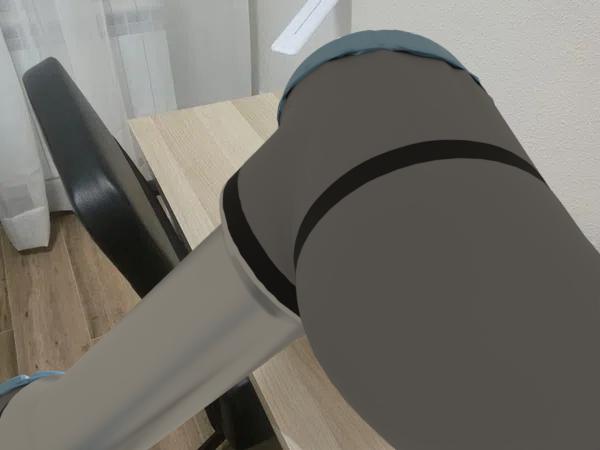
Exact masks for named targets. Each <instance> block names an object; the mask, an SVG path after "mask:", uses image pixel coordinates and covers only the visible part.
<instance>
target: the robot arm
mask: <svg viewBox="0 0 600 450" xmlns="http://www.w3.org/2000/svg"><path fill="white" fill-rule="evenodd" d="M479 78H480V77H478V76H476V75H475V74H474V73H472V72H470V71H469V70H468V69H467V68H466V67H465V65H464V64H463V63H462V62H461V61H460V60H459V59H458V58H457V57H456V56H455V55H453V53H452V52H450V51H449V50H448V49H447V48H445V47H444V46H442V45H441V44H439V43H438V42H436V41H434V40H433V39H430V38H428V37H425V36H424V35H421V34H417V33H414V32H411V31H406V30H400V29H377V30H374V29H373V30H372V29H365V30H359V31H355V32H352V33H349V34H345V35H342V36H340V37H337V38H335V39H333V40H331V41H328V42H327V43H325V44H323V45H322V46H320V47H319V48H317V49H316V50H314V51H313V52H312V53H311V54H310V55H308V56H307V57H306V58H305V59H303V61H302V62H301V63H300V64H299V65H298V66H297V67H296V69H295V70H294V71H293V73H292V74H291V76H290V78H289V79H288V81H287V84H286V85H285V87H284V90H283V93H282V96H281V98H280V100H279V102H278V106H277V112H276V121H277V129H276V130H275V131H274V132H273V133H272V134H271V136H269V137H268V138H267V139H266V141H264V143H262V144H261V146H259V148H258V149H257V150H256V151H255V152H254V153H252V155H250V157H248V159H246V160H245V162H244V163H243V164H242V165H241V166H240V167H239V168H238V169H237V170H236V171H235V172H234V173H233V174H232V175H231V176H230V177H229V178H228V180H226V182H225V183H224V184H223V186H222V188H221V190H220V194H219V201H218V202H219V203H218V204H219V205H218V206H219V208H218V209H219V216H220V223H219V224H218V225H217V226H216V227H215V228H214V229H213V230H212V231H211V232H210V233H209V234H208V235H207V236H206V237H205V238H203V239H202V241H200V242H199V243H198V245H196V246H195V247H194V248H193V249H192V250H191V251H190V252H189V253H188V254H187V255H186V256H185V257H184V258H183V259H182V260H181V261H180V262H179V263H178V264H176V266H175V267H174V268H172V269H171V270H170V271H169V272H168V274H167V275H165V276H164V277H163V278H162V279H161V280H160V281H159V282H158V283H157V284H156V285H155V286H154V287H153V288H152V289H151V290H150V291H149V292H148V293H146V295H144V296H143V297H142V298H141V299H140V301H138V303H136V304H135V305H134V306H133V307H132V308H130V310H129V311H128V312H127V313H126V314H125V315H124V316H123V317H122V318H120V320H119V321H117V323H116V324H114V326H113V327H112V328H110V329H109V330H108V331H107V332H106V333H105V334H104V335H103V336H102V337H101V338H100V339H99V340H98V341H97V342H95V344H93V346H91V348H90V349H89V350H87V351H86V353H84V354H83V355H82V356H81V357H80V358H79V359H78V360H77V361H76V362H75V363H74V364H73V365H72V366H71V367H70V368H69V369H68V370H66V371H59V370H41V371H35V372H33V374H32V375H31V376H28V375H27V374H20V375H17V376H14V377H12V378H9V379H8V380H6V381H4V382H2V383H1V384H0V450H150V449H151V448H152V447H153V446H155V445H156V444H157V443H159V442H160V441H161V440H163V439H164V438H166V437H167V436H168V435H169V434H171V433H173V431H175V430H176V429H178V428H179V427H181V426H182V425H183V424H185V423H186V422H188V421H189V420H190V419H191V418H193V417H194V416H196V415H197V414H198V413H199V412H201V411H202V410H204V409H205V408H206V407H208V406H209V405H210V404H212V403H214V402H215V401H216V400H217V399H218V398H220V397H221V396H223V395H224V394H225V393H227V392H228V391H230V390H231V389H232V388H234V387H235V386H237V384H239V383H240V382H242V381H243V380H245V379H246V378H247V377H248V376H250V375H251V374H252V373H254V372H255V371H257V370H258V369H260V368H261V367H262V366H263V365H265V364H266V363H268V362H269V361H271V360H272V359H273V358H274V357H276V356H277V355H278V354H279V353H281V352H283V351H284V350H286V348H288V347H289V346H290V345H292V344H293V343H295V342H296V341H297V340H298V339H299V340H300V338H302V337H303V336H304V335H305V336H306V339H307V342H308V344H309V346H310V348H311V350H312V353H313V355H314V357H315V359H316V361H317V363H318V364H319V365H320V367H321V369H322V370H323V372H324V374H325V375H326V377H327V379H328V380H329V381H330V383H331V384H332V385H333V387H334V389H336V391H337V392H338V393H339V394H340V396H341V397H342V398H343V399H344V401H345V403H347V404H348V405H349V406H350V407H351V408H352V409H353V411H354V412H355V413H356V414H357V415H358V416H359V417H360V418H361V419H362V420H363V422H365V423H366V424H367V426H369V427H370V428H371V429H373V431H374V432H375V433H376V434H378V435H379V436H380V437H381V438H382V439H383V440H384V441H385V442H386V443H387V444H388V445H389V446H390V447H392V448H393V449H394V450H600V252H599V250H598V249H597V248H596V247H595V246H594V245H593V244H592V242H591V241H590V240H589V238H588V237H586V235H585V234H584V232H583V231H582V229H581V228H580V227H579V225H578V224H577V222H576V221H575V220H574V219H573V217H572V216H571V214H570V213H569V212H568V210H567V208H566V207H565V205H564V204H563V203H562V201H561V200H560V199H559V198H558V197H557V195H556V193H554V191H553V190H552V189H551V187H550V186H549V185H548V183H547V181H546V180H545V177H543V175H542V174H541V173H540V171H539V170H538V168H537V167H536V165H535V164H534V162H533V161H532V159H531V157H530V156H529V154H528V153H527V151H526V150H525V149H524V147H523V145H522V144H521V142H520V141H519V139H518V138H517V136H516V134H515V133H514V131H513V130H512V128H511V127H510V125H509V124H508V123H507V121H506V120H505V118H504V116H503V115H502V113H501V112H500V110H499V109H498V107H497V105H496V104H495V101H494V99H493V97H492V96H491V95H490V94H489V93H488V92H487V90H486V89H485V87H484V86H483V85H482V83H481V81H480V79H479Z"/></svg>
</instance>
